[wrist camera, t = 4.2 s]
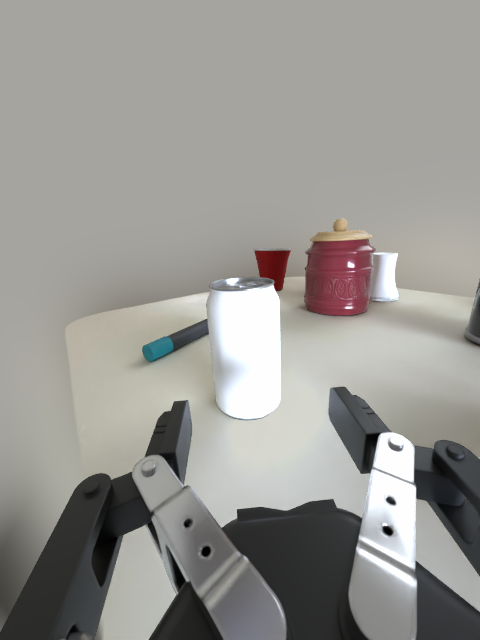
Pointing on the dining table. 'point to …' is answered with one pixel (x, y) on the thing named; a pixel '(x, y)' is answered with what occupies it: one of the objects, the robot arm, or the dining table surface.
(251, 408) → the can
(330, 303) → the kitchen canister
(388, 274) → the vase
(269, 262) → the plastic cup
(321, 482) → the dining table surface
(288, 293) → the dining table surface
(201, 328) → the marker
